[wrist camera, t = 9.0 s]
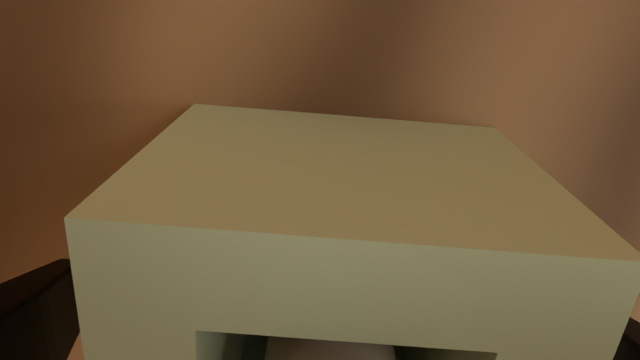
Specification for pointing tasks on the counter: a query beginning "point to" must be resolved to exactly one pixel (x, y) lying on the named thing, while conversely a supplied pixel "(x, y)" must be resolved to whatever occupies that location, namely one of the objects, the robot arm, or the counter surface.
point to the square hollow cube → (343, 244)
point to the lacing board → (309, 95)
